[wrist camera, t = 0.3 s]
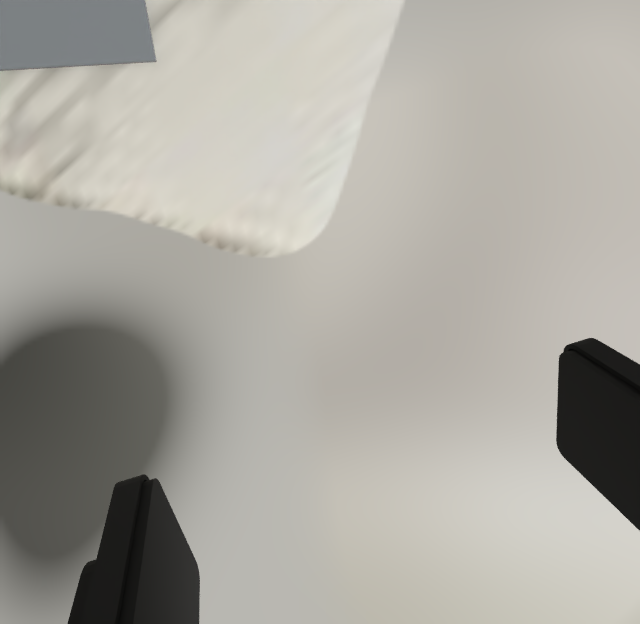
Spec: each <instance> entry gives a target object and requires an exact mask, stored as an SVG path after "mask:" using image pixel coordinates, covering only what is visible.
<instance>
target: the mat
mask: <svg viewBox="0 0 640 624" xmlns="http://www.w3.org/2000/svg"><path fill="white" fill-rule="evenodd" d="M143 62H156V57H155V51H154V46H153V41H152V35H151V30H150V25H149V19H148V14H147V9H146V3H145V0H0V71H3V70H21V69H38V68H56V67H73V66H91V65H108V64H125V63H143Z"/></svg>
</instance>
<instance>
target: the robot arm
mask: <svg viewBox="0 0 640 624" xmlns="http://www.w3.org/2000/svg"><path fill="white" fill-rule="evenodd" d="M556 441H557V446H558V449H559V451H560V453H561V454H562V456H563V457H564V458H565V459H566V460H567V461H568V462H569V463H570V464H571V465H572V466H573V467H574V468H575V469H576V470H577V471H579V472H580V473H581V474H582V475H583V476H584V477H585V478H586V479H587V480H588V481H589V482H590V483H591V484H592V485H593V486H594V487H595V488H596V489H597V490H598V491H599V492H600V493H601V494H603V496H604V497H606V499H608V500H609V501H610V502H611V503H612V504H613V505H614V506H615V507H616V508H617V509H618V510H619V511H620V512H621V513H622V514H623V515H624V516H625V517H626V518H627V519H628V520H629V521H630V522H631V523H632V524H633V525H634V526H635V527H636V528H637V529H639V530H640V364H638V363H636V362H634V361H633V360H631V359H629V358H628V357H626V356H624V355H622V354H621V353H619V352H617V351H616V350H614V349H612V348H610V347H609V346H607V345H605V344H603V343H602V342H600V341H598V340H596V339H594V338H588V339H585V340H582V341H578V342H575V343H572V344H569V345H567V346H566V347H565V348H564V352H563V353H562V354H561V355H560V357H559V376H558V407H557V438H556ZM199 579H200V578H199V570H198V566H197V562H196V560H195V558H194V556H193V553H192V551H191V549H190V547H189V545H188V543H187V541H186V538H185V536H184V534H183V532H182V530H181V528H180V526H179V523H178V521H177V519H176V517H175V515H174V513H173V510H172V508H171V506H170V504H169V502H168V500H167V498H166V495H165V493H164V491H163V489H162V487H161V484H160V482H159V481H158V480H157V479H156V478H155V479H152V480H149V478H148V477H147V476H146V475H140V476H137V477H134V478H131V479H127V480H124V481H121V482H118V483H116V484H115V487H114V490H113V494H112V498H111V502H110V506H109V510H108V514H107V519H106V523H105V527H104V531H103V535H102V539H101V543H100V547H99V551H98V555H97V559H96V560H93V561H90V562H88V563H87V564H86V565H85V566H84V568H83V571H82V573H81V576H80V580H79V583H78V587H77V591H76V595H75V598H74V602H73V606H72V609H71V613H70V617H69V621H68V624H199V592H200V580H199Z"/></svg>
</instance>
